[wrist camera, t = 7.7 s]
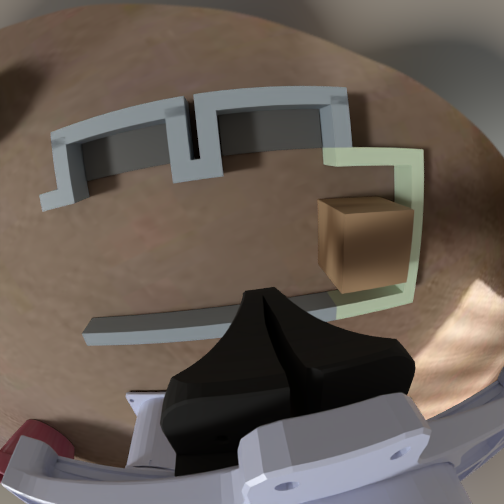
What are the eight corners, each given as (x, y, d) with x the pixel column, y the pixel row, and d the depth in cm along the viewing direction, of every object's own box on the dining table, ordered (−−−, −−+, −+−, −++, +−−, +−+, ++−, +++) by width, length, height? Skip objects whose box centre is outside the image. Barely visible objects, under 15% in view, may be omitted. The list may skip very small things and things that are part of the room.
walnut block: (374, 256, 22) (406, 282, 17) (317, 263, 22) (341, 293, 17) (377, 196, 20) (414, 209, 16) (317, 199, 20) (344, 214, 15)
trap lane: (398, 289, 23) (412, 302, 21) (96, 329, 22) (87, 345, 20) (401, 99, 18) (418, 96, 15) (49, 139, 16) (32, 140, 14)
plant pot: (32, 399, 25) (-2, 468, 13) (106, 456, 30) (91, 524, 18) (3, 414, 26) (-23, 466, 14) (64, 462, 31) (48, 515, 19)
